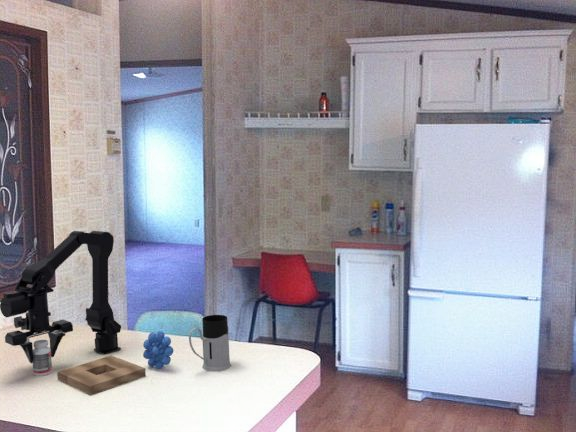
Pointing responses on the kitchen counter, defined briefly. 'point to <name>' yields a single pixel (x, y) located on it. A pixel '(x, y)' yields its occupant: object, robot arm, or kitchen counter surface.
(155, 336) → the grapes
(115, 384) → the hole plate
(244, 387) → the kitchen counter surface
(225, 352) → the glass holder
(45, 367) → the pill bottle
